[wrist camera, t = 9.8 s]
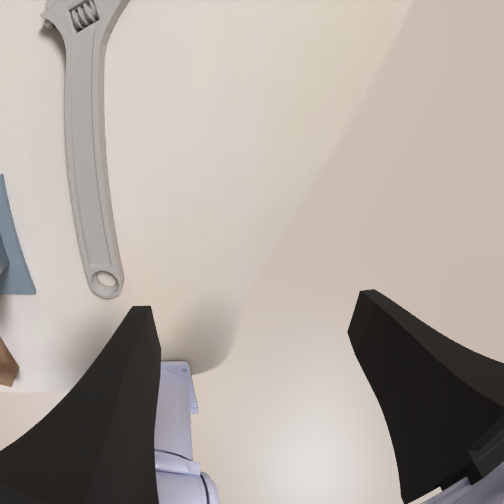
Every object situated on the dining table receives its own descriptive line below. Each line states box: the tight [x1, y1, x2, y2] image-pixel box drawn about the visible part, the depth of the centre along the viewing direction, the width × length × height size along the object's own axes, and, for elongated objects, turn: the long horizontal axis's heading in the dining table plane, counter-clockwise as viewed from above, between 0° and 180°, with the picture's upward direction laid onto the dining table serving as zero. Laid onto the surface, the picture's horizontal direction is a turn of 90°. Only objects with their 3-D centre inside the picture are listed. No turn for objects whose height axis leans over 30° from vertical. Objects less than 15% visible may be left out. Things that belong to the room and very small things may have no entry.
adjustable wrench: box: [40, 0, 130, 298], centre depth 14 cm, size 25×6×2 cm, turn 172°
